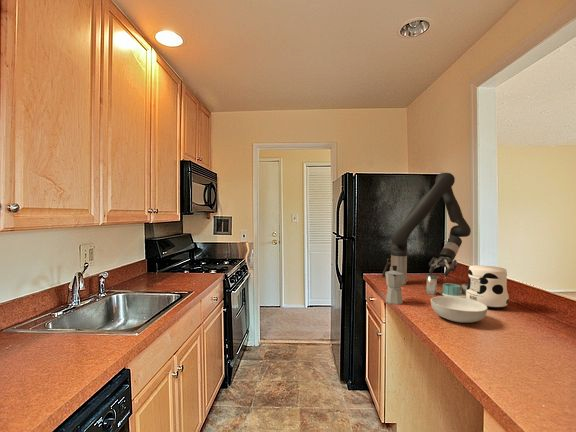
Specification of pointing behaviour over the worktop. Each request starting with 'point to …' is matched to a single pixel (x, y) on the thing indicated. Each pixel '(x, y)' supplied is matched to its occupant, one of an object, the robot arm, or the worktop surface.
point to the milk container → (488, 286)
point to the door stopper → (386, 268)
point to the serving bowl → (458, 309)
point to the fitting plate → (454, 290)
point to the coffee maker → (394, 286)
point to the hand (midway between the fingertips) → (437, 274)
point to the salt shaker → (431, 284)
